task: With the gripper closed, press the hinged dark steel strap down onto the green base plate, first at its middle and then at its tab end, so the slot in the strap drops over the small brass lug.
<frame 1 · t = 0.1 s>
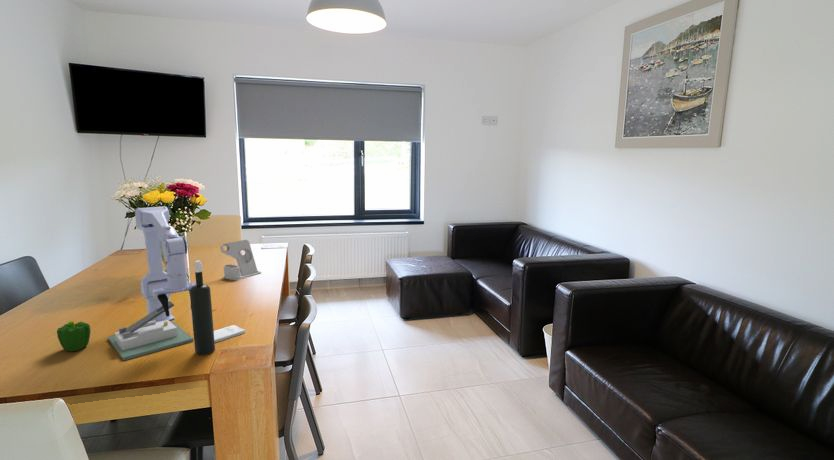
hand: (180, 312, 143), 10 cm above the table, tool pointing down, fingers open, 7 cm apart
wine bottle: (205, 352, 137), on the table
phone holder: (242, 275, 225), on the table
strap: (148, 318, 144), point 8 cm above the table, hinge at 25.0°
green base plate: (150, 340, 145), on the table
external hard drive: (222, 337, 149), on the table
bell pepper: (75, 349, 138), on the table
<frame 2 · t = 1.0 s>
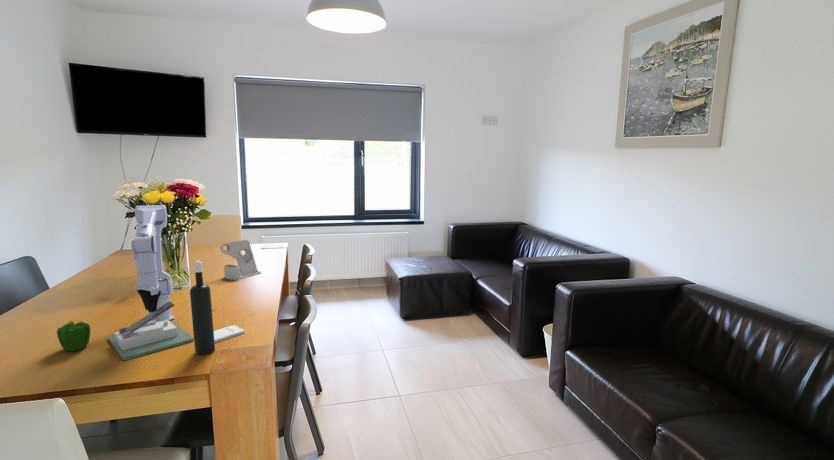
hand: (151, 310, 144), 10 cm above the table, tool pointing down, fingers open, 3 cm apart
nothing on the table moved.
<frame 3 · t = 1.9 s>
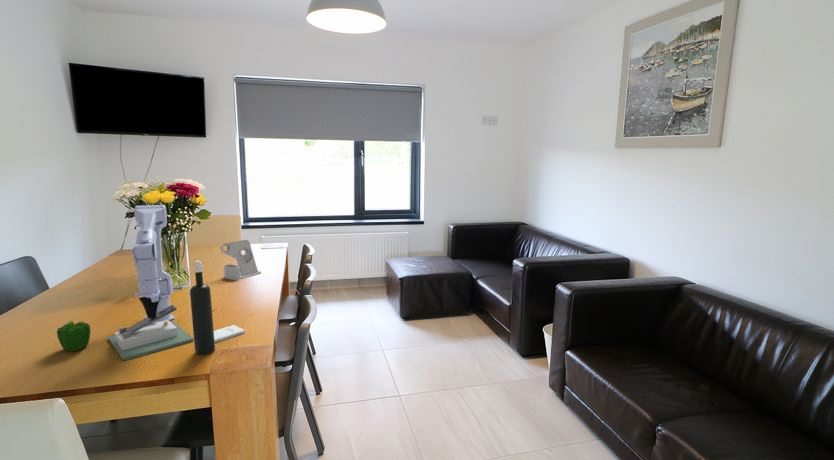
hand: (151, 317, 144), 8 cm above the table, tool pointing down, fingers closed, pressing on strap
strap: (149, 320, 144), point 7 cm above the table, hinge at 18.6°, touching gripper
everything else where it was.
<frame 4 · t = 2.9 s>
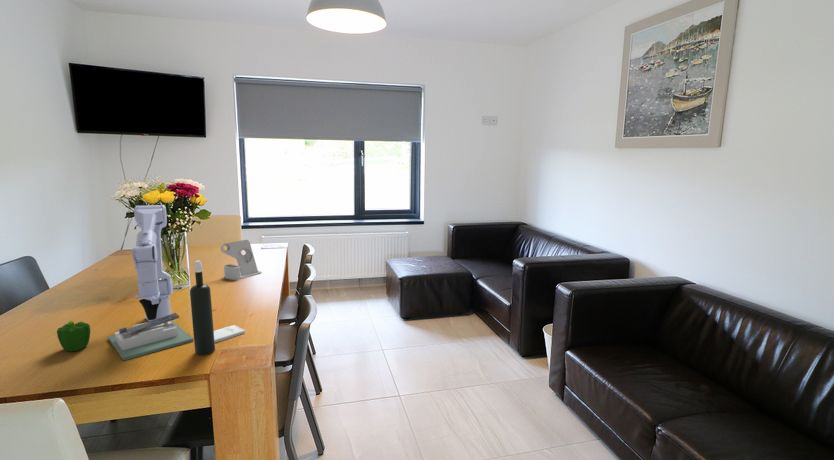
hand: (151, 319, 144), 7 cm above the table, tool pointing down, fingers closed
strap: (151, 324, 144), point 6 cm above the table, hinge at 7.1°
everything else where it was.
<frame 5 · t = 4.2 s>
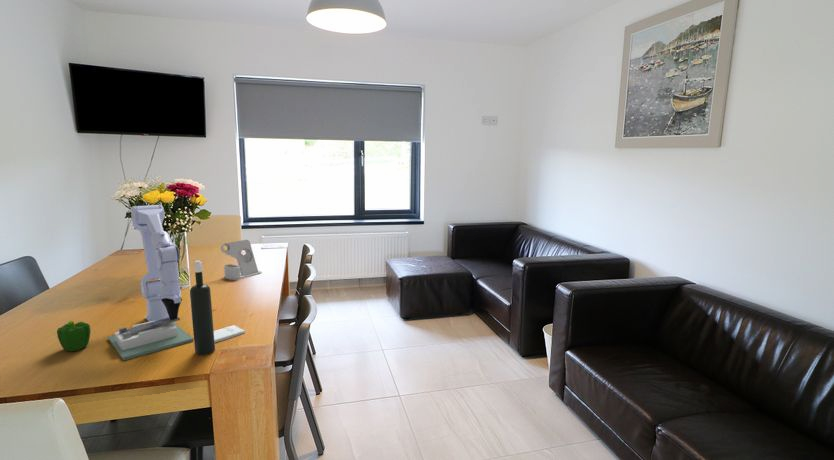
hand: (173, 317, 149), 6 cm above the table, tool pointing down, fingers closed, pressing on strap
strap: (151, 325, 145), point 5 cm above the table, hinge at 3.9°, touching gripper
everything else where it was.
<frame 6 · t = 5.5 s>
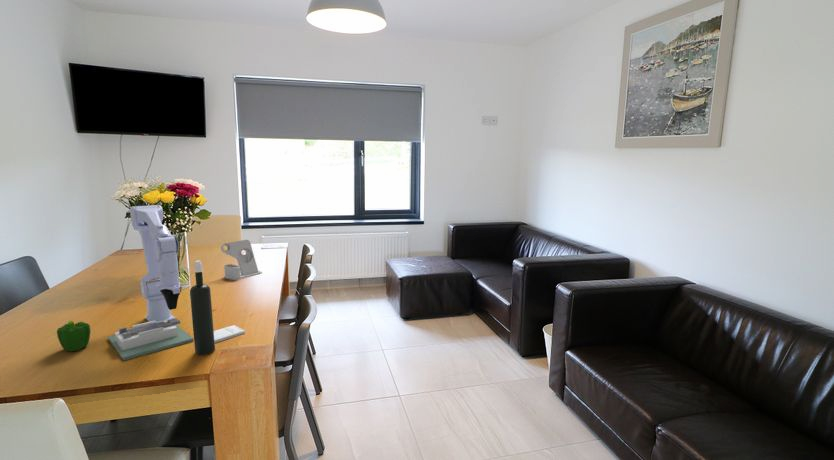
hand: (172, 308, 149), 9 cm above the table, tool pointing down, fingers closed
strap: (151, 327, 145), point 5 cm above the table, hinge at -0.5°
everything else where it was.
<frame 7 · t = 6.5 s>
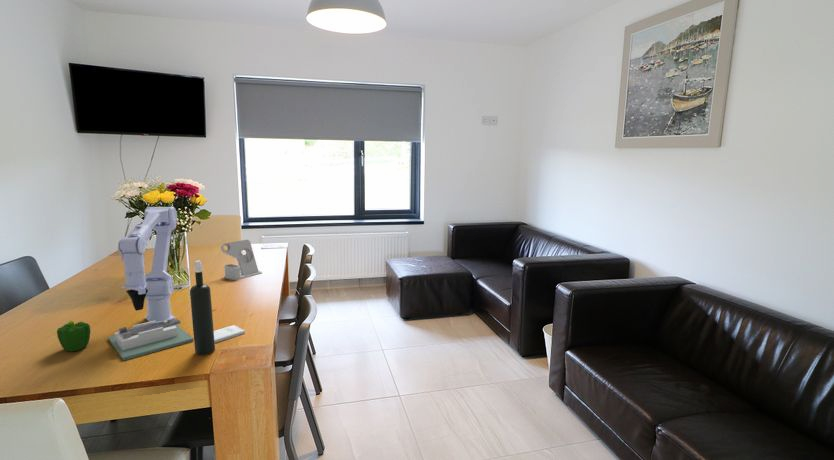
hand: (139, 309, 147), 9 cm above the table, tool pointing down, fingers closed
nothing on the table moved.
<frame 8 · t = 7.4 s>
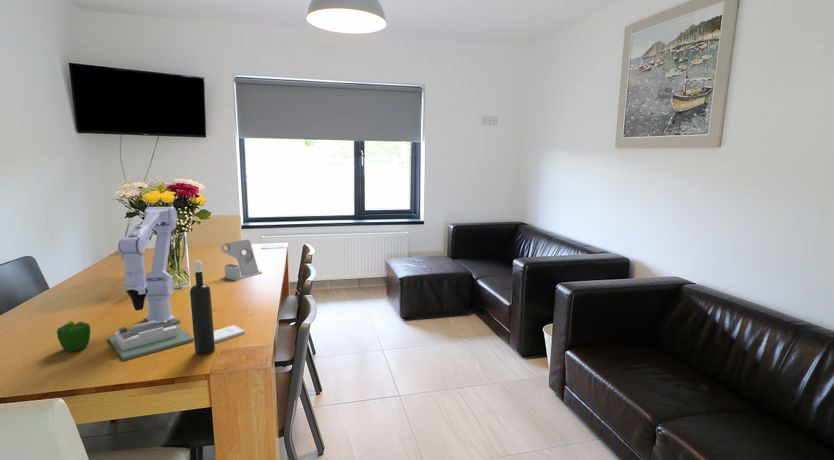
hand: (139, 309, 147), 9 cm above the table, tool pointing down, fingers closed
nothing on the table moved.
at the end: strap at +0° (first picture: +25°); external hard drive moved 0.8 cm from its start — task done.
